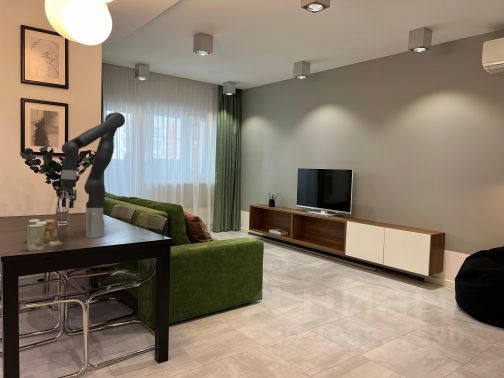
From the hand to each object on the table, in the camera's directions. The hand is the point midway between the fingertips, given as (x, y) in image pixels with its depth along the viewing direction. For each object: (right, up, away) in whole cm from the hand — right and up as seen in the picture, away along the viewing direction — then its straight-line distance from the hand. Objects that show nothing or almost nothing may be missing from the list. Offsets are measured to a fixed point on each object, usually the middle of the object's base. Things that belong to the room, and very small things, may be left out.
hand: (67, 207), depth 207 cm
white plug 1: (-13, -13, -9) cm, 21 cm away
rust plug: (-6, -14, -8) cm, 17 cm away
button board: (-8, -19, -10) cm, 22 cm away
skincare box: (-4, -20, -24) cm, 31 cm away
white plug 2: (-6, -14, -15) cm, 21 cm away
